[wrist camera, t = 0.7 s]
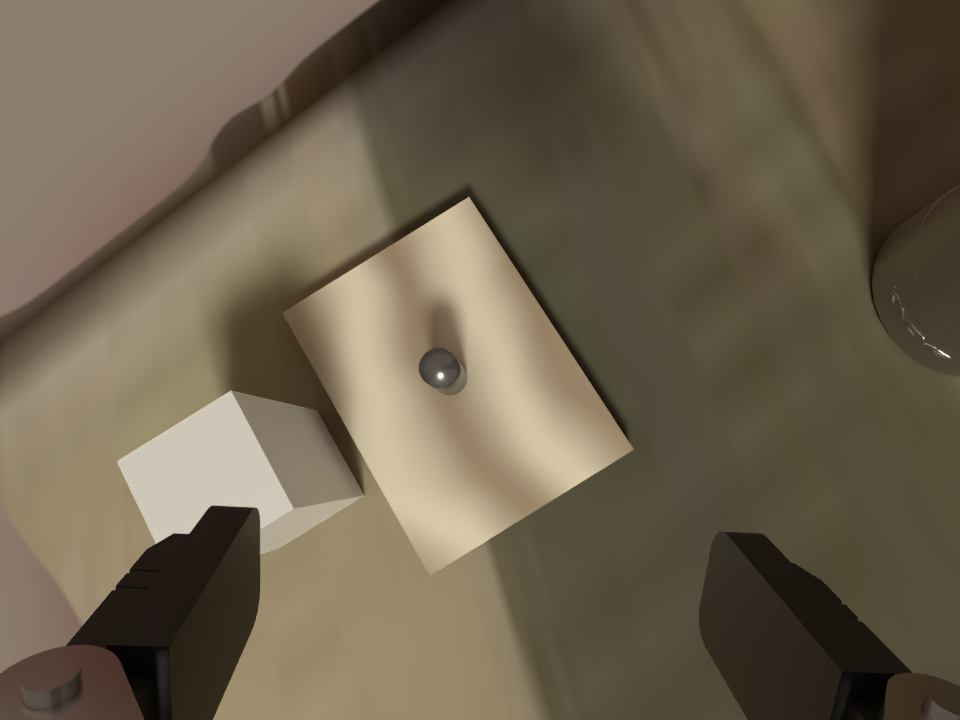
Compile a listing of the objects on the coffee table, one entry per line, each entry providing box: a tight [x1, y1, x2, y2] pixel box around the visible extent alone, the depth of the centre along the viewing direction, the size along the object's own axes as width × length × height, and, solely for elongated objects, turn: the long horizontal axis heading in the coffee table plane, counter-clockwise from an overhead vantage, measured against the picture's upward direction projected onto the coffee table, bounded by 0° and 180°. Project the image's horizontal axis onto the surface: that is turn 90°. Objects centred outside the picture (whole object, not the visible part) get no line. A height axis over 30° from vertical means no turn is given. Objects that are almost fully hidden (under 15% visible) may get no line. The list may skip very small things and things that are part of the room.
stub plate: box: [282, 197, 634, 576], centre depth 33 cm, size 12×16×6 cm
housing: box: [117, 391, 364, 554], centre depth 30 cm, size 5×5×10 cm
